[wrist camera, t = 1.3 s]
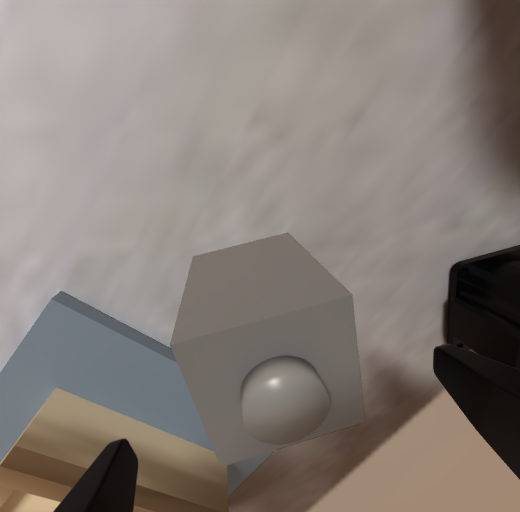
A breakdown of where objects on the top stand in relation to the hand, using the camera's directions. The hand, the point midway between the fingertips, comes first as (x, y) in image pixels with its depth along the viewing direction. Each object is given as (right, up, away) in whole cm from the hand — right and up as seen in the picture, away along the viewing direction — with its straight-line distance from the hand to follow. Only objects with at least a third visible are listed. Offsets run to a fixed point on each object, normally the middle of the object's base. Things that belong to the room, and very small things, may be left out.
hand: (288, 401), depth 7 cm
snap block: (-1, +2, +7) cm, 8 cm away
